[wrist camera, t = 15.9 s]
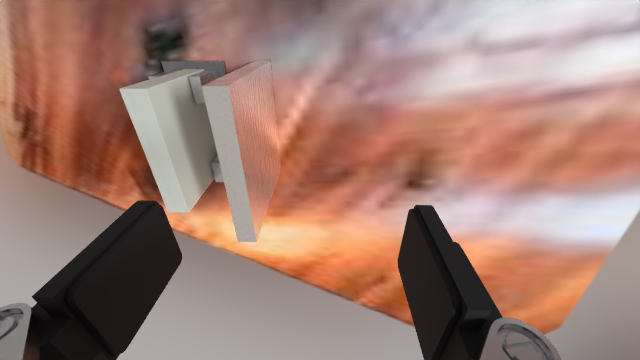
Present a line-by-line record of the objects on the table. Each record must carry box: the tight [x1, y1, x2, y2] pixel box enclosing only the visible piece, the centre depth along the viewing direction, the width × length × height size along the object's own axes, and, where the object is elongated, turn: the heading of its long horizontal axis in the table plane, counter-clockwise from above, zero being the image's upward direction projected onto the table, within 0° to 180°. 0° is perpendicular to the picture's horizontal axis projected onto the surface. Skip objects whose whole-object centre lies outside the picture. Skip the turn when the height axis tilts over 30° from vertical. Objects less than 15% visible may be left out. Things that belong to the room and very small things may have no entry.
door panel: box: [119, 69, 218, 213], centre depth 31 cm, size 14×2×12 cm, turn 0°
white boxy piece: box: [148, 61, 281, 242], centre depth 30 cm, size 16×14×16 cm
